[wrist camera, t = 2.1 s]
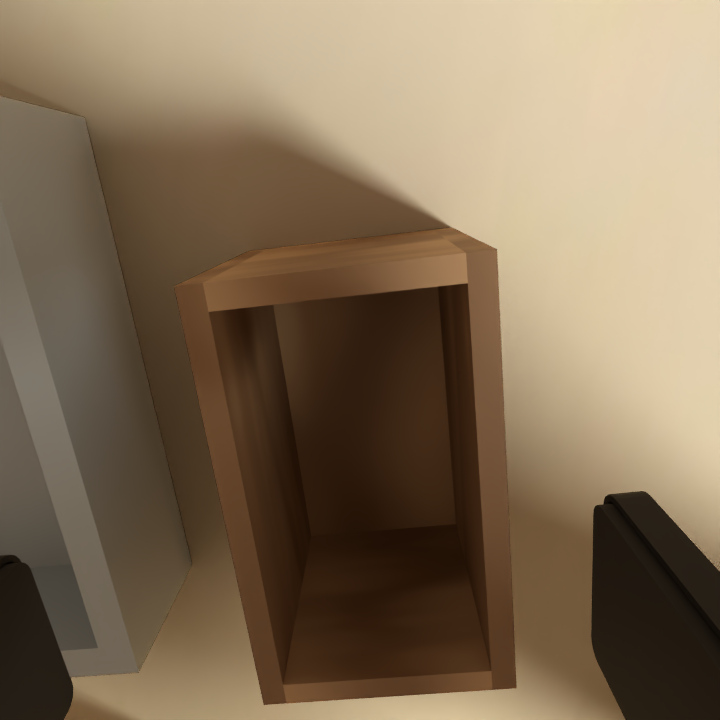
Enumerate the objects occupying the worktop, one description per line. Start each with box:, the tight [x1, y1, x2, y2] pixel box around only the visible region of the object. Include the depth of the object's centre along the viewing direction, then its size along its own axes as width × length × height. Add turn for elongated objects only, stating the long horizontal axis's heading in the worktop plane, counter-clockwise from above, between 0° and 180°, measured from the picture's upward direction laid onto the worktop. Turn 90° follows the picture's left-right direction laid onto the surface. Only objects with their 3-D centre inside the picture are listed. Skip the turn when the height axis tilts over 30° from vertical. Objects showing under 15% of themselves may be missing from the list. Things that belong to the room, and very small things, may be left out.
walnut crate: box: [174, 227, 516, 705], centre depth 16 cm, size 6×11×7 cm, turn 7°
